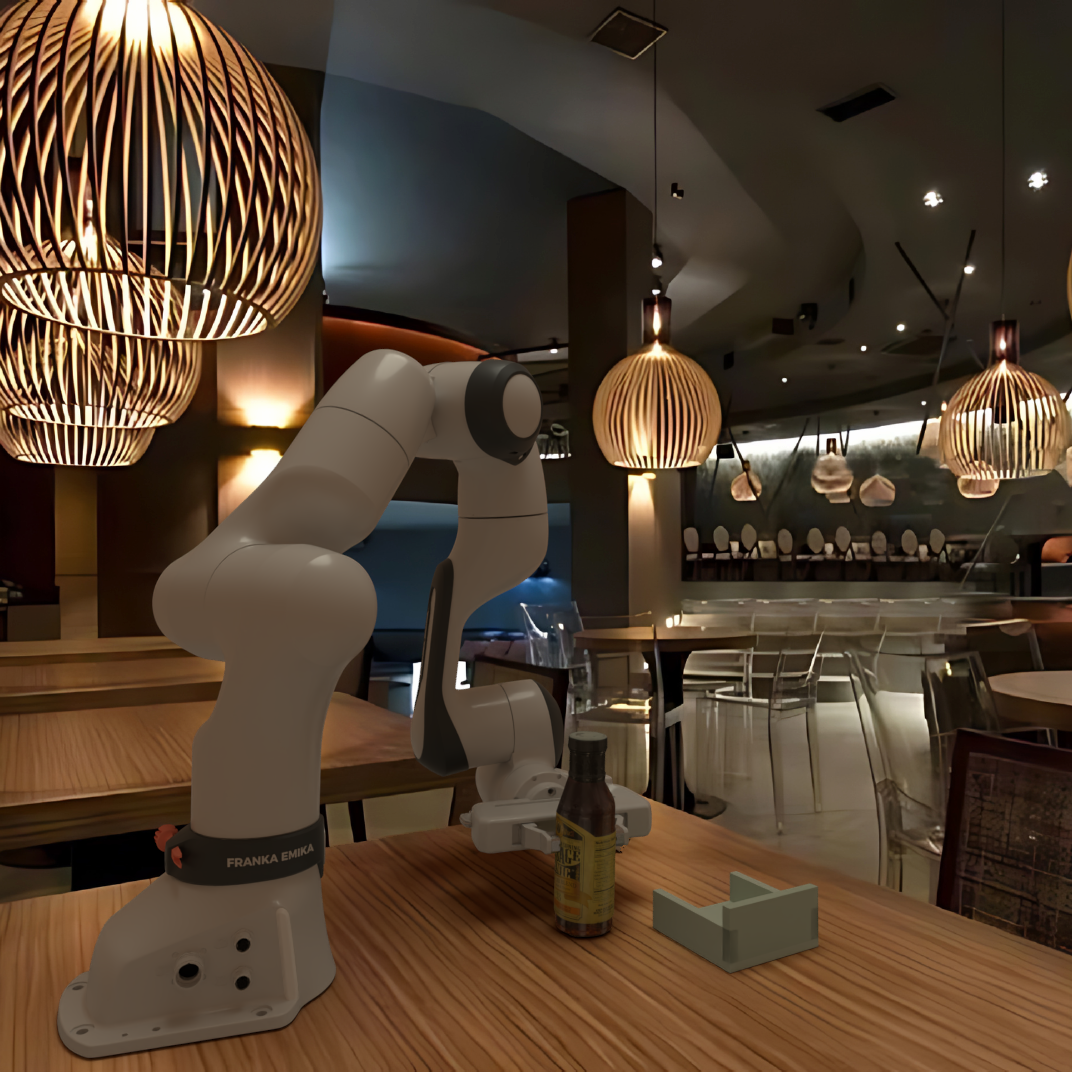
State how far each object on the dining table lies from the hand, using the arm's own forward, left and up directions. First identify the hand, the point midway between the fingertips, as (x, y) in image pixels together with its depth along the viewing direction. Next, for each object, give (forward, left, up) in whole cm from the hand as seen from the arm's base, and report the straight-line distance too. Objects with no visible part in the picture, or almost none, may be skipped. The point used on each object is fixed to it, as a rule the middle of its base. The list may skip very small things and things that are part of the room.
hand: (588, 842), depth 89 cm
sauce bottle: (0, +1, -9) cm, 9 cm away
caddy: (+12, -8, -9) cm, 17 cm away
